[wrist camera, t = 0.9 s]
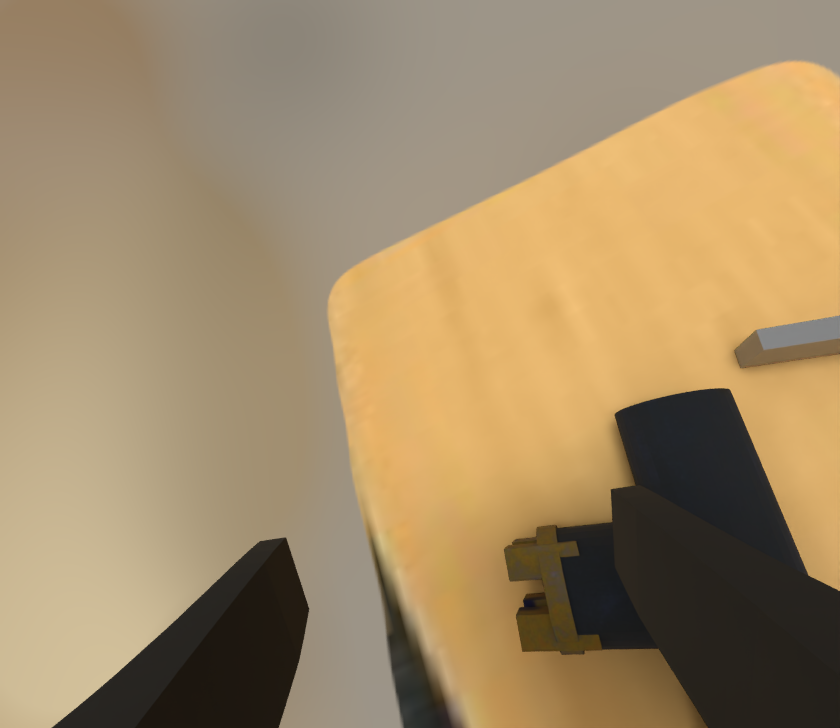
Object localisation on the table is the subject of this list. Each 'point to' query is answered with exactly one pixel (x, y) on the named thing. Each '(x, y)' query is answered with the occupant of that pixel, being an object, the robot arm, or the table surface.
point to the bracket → (790, 342)
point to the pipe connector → (671, 479)
